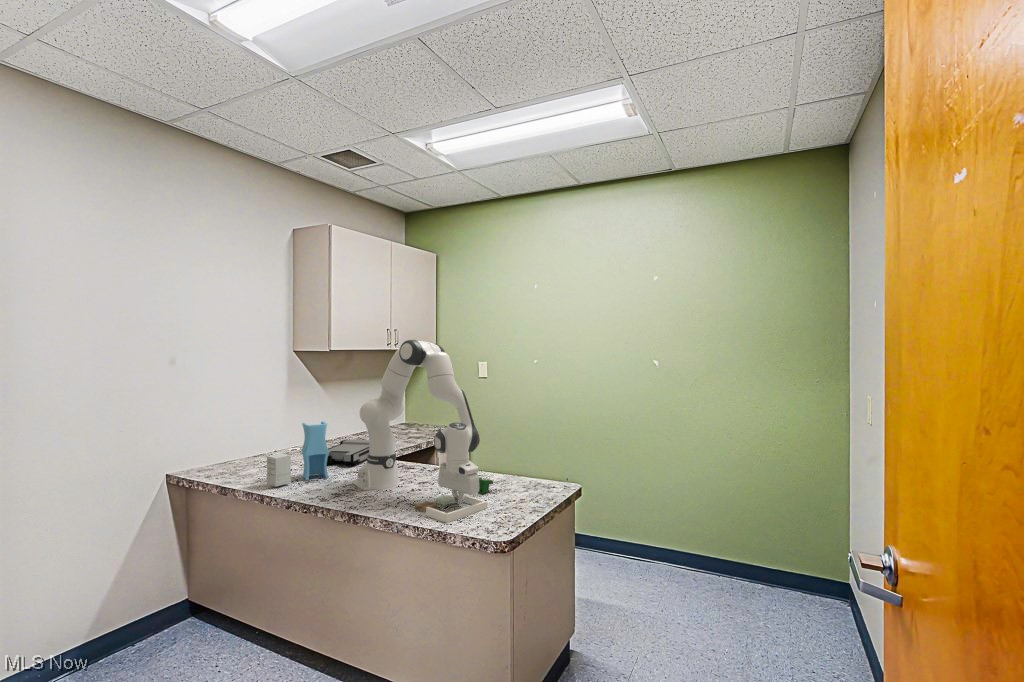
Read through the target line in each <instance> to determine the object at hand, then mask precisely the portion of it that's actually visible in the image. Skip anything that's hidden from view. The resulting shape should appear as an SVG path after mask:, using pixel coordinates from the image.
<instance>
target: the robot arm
mask: <svg viewBox="0 0 1024 682" xmlns="http://www.w3.org/2000/svg"><path fill="white" fill-rule="evenodd" d="M417 367H419V368H425V371H426V375H427V376H426V377H427V385H428V389H429V393H430V394H431V395H432V396H433V397H434V398H436V399H437V400H440V401H442V402H446V403H448V404H451V405H453V406H454V407H455V408H456V411H457V413H458V417H459V419H460V422H451V423H449V424H447V426H446V428H444V429H440V430H438V431H437V432H436V433H435V435H434V437H433V445H434V449H435V450H436V451H437V452H438V453H439V454H444V455H446V458H445V459H446V461H445V462H442V463H441V464H440V465H439V471H438V475H437V476H438V478H437V483H438V485H439V487H441V488H445V489H449V490H451V494H452V497H453V498H454V501H455V502H454V503H459V504H460V503H462V502H463V497H464V496H465V494H467V495H468V496H474V495H476V494H478V492H479V478H480V476H479V474H478V473H479V472H480V469H479V466H477V465H476V464H475V463H473V462H472V460H470V454H469V453H473V452H474V451H476V449H477V448H478V446H479V445H480V442H481V441H480V435H479V431H478V429H477V427H476V425H475V422H474V419H473V415H472V413H471V409H470V406H469V402H468V400H467V396H466V394H465V391H464V390H463V389H461V388H460V386H458V383H457V382H456V379H455V373H454V369H453V364H452V360H451V357H450V355H449V354H448V353H446V352H445V349H444V348H443V347H442V345H439V344H437V343H434V342H433V343H432V342H430V341H425V340H416V339H407V340H405V341H404V342H402V343H401V345H400V347H398V348H397V350H396V351H395V353H394V354H393V355H392V357H391V359H390V360H389V362H388V365H387V367H386V369H385V372H384V374H383V377H382V378H381V380H380V384H381V393H380V396H379V397H378V398H373V399H370V400H368V401H366V402H364V404H362V405H361V406H360V409H359V417H360V419H361V421H362V423H364V425H365V427H366V430H367V433H368V440H369V455H368V456H367V455H366V456H367V457H368V458H367V457H366V458H367V460H366V463H365V464H364V465H363V466H362V467H360V468H359V469H358V473H357V478H356V479H354V480H352V484H353V485H355V486H356V487H358V488H359V489H360V490H363V491H375V490H376V491H383V490H384V491H385V490H389V489H393V488H396V487H397V486H399V483H400V482H401V479H400V478H399V467H398V463H396V462H397V452H396V436H395V433H393V432H392V429H391V425H390V422H391V421H394V420H396V419H398V418H399V417H400V416H401V415H402V414H403V411H404V403H403V400H404V397H405V392H406V389H407V386H408V384H409V383H410V379H411V378H412V375H413V373H414V370H415V369H416V368H417Z"/></svg>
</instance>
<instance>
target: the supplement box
mask: <svg viewBox="0 0 1024 682" xmlns="http://www.w3.org/2000/svg"><path fill="white" fill-rule="evenodd" d="M291 458H292V457H291V455H290V454H286V453H282V452H281V453H277V454H272V455H267V456H266V484H267V485H269V486H273V487H279V486H283V485H287V484H291V481H292V480H291V471H292V469H291V467H292V465H291V461H292V459H291Z"/></svg>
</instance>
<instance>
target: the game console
mask: <svg viewBox="0 0 1024 682" xmlns="http://www.w3.org/2000/svg"><path fill="white" fill-rule="evenodd" d="M327 448H328V447H327ZM328 451H329V454H328V458H327V466H334V465H336V464H339V463H340V462H342V463H343V465H345V466H346V467H347V466H350V467H353V466H354V467H357V466H359V465H360V464H362V463H365V462H367V458H368V457H367V456H368V455H369V439H343V440H341V441H339V444H336V445H334V446H331V447H329V448H328ZM366 455H367V456H366ZM366 457H367V458H366Z"/></svg>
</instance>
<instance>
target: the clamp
mask: <svg viewBox="0 0 1024 682" xmlns="http://www.w3.org/2000/svg"><path fill="white" fill-rule="evenodd" d="M490 485H494V480H492V479H484V478H482V477H479V492H478V493H477V494H478V495H486V494H487V492H488V491H489V490H490Z"/></svg>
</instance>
